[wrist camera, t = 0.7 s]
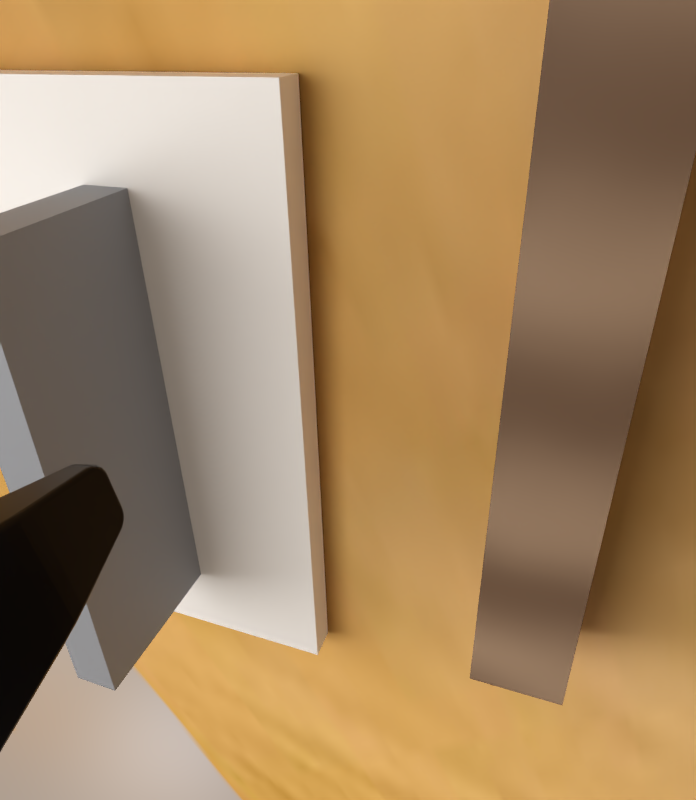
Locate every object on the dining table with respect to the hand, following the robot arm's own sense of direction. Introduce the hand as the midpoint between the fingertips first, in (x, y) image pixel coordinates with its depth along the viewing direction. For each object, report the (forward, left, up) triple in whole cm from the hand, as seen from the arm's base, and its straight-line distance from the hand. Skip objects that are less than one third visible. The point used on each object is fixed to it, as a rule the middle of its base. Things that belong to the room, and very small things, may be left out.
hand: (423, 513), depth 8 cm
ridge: (-7, +13, -12) cm, 19 cm away
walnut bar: (-3, -1, -12) cm, 13 cm away
